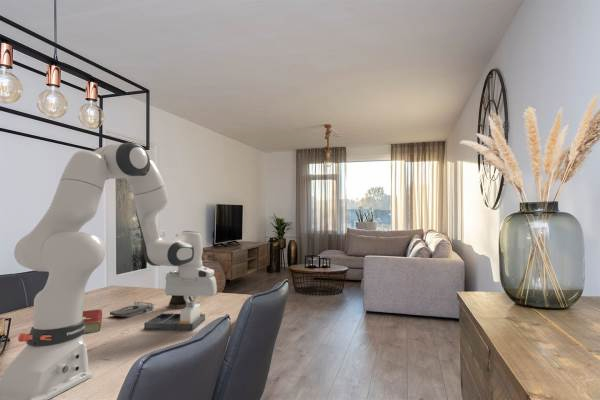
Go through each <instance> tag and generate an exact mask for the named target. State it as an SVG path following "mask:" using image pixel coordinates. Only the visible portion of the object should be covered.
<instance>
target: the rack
mask: <svg viewBox="0 0 600 400" xmlns="http://www.w3.org/2000/svg"><path fill="white" fill-rule="evenodd" d="M205 321H206V314H205V313H203V312H201V311H200V317H199V318H198V319H197V320H195V321H194V322H193V323H190V322H184V321H180V313H167V312H166V313H159V314H158V315H156V316H154V317H152V318H151V319H149V320H148V321H146V322H144V329H143V330H147V331H148V330H149V331H151V330H152V331H184V332H186V331H189V332H190V331H194V330H195V329H196V328H198V327H199V326H200V325H201V324H203V322H205Z"/></svg>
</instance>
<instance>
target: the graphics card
mask: <svg viewBox="0 0 600 400" xmlns="http://www.w3.org/2000/svg"><path fill="white" fill-rule="evenodd" d="M154 310H155V303H152V302H143V301H135V302H133V304H132V305H128V306H125V307H122V308H119V309H118V308H117V309H116V310H115V309H114V310H112V311H109V316H114V317H119V318H120V319H123V318H130V317H134V316H137V315H139V314H146V313H149V312H153V311H154Z"/></svg>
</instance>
